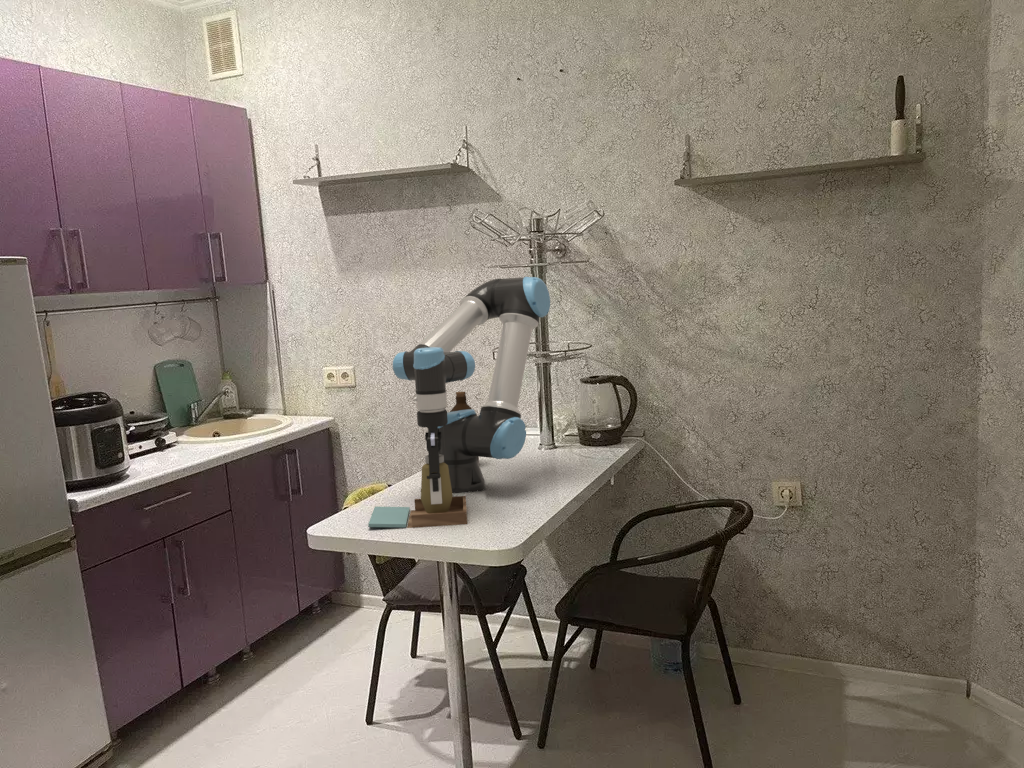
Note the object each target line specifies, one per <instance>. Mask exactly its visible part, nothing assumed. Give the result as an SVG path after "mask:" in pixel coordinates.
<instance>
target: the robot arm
mask: <svg viewBox="0 0 1024 768" xmlns="http://www.w3.org/2000/svg"><path fill="white" fill-rule="evenodd" d="M550 309H551V296H550V292H549V289H548V286H547V285H546V283H545V282H544V281H543V279H541V278H539V277H537V276H523V277H511V278H510V277H509V278H494V279H491V280H490V279H489V280H488V281H486V282H484V283H481V284H480V285H478V286H477V287H476V288H474V289H473V290H471V291H470V292H469V293H468V294H466V295H465V296H464V297H463V298H462V299H461V300H460V302H459V305H458V307H457V308H456V309H455V310H454V311H453V312H451V314H450V315H448V317H446V318H445V319H444V320H443V321H441V323H440V324H439V325H437V327H435V328H434V330H432V331H431V332H430V333H429V334H428V335H427V336H426V337H425V338H424V339H423V340H421V341H420V342H419V343H418V344H417V345H416V346H415V347H413V349H411V351H408V350H407V351H400V352H397V354H396V355H394V358H393V360H392V372H393V373H394V375H395V376H396V377H397V379H399V380H405V381H406V380H407V381H410V382H411V381H414V382H415V397H413V401H414V402H415V403H416V410H417V412H416V418H417V419H416V421H417V426H418V427H419V428H427V432H425V435H424V436H425V437H424V438H425V443H426V452H428V454H427V455H429V476H427V479H430V493H431V504H442V491H441V476H440V466H439V454H442V455H444V463H446V464H447V465H448V469H449V475H450V482H451V488H452V494H462V493H463V494H464V493H477V492H479V493H480V492H482V491H484V490H486V480H485V478H484V475H483V473H482V470H481V467H480V463H479V464H478V457H479V458H489V459H496V460H503V459H505V460H509V459H512V458H515V457H516V456H517V455H519V453H520V452H521V451H522V449H523V447H524V445H525V442H526V438H527V430H526V428H527V426H526V423H525V421H524V420H523V419H522V413H521V412H520V411H519V409H518V405H519V399H520V395H521V391H522V385H523V379H524V374H525V368H526V363H527V359H528V354H529V348H530V347H529V346H530V342H531V337H532V334H533V333H532V331H533V330H535V329H536V328H537V327H538V326H539V323H540V318H544V317H546V316H548V314H549V312H550ZM497 318H498V319H499V321H500V322H501V323H502V328H501V334H500V339H499V342H498V347H497V348H498V349H497V352H496V353H497V355H496V359H495V365H494V369H493V373H492V377H491V379H492V380H491V383H490V389H489V394H488V398H487V402H486V403H485V404H483V405H482V406H481V407H480V412H479V414H478V415H477V416H476V414H477V412H476V410H475V409H473V408H472V409H467V410H459V411H453V412H450V411H448V410H447V409H446V408H447V407H448V402H447V401H448V397H447V390H446V389H447V388H446V387H447V386H446V384H449V383H452V382H457V381H458V382H460V381H461V382H463V381H465V380H467V379H469V378H471V377H472V376H473V375H474V373H475V370H476V362H475V359H474V357H473V355H472V354H471V353H470V352H469V351H466V350H465V351H464V350H459V351H458V350H455V351H453V350H454V349H455V347H457V346H458V345H459V344H460V343H461V342H462V341H463V340H464V339H465V338H466V337H467V336H468V335H469V334H470V333H471V332H472V331H473V330H474V329H475V328H476V327H477V326H481V325H483V324H485V323H486V322H487V321H489V320H492V319H497ZM432 472H437V473H432Z"/></svg>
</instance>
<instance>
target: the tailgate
mask: <svg viewBox="0 0 1024 768" xmlns="http://www.w3.org/2000/svg"><path fill="white" fill-rule="evenodd" d="M410 511H411V509H410V506H374V508H373V511H372V513H371V516H370V518H369V521H368V525H367V527H368V528H407V525H408V521H409V516H410Z"/></svg>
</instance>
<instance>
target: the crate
mask: <svg viewBox="0 0 1024 768" xmlns="http://www.w3.org/2000/svg"><path fill="white" fill-rule="evenodd" d="M467 511H468V509H467V496H466V495H457V496H454V495H453V497H452V501H451V505H450V508H449V511H448V512H445V513H430V514H429V513H427V512H426V511H425V508H424V506H423V503H422V501H421V498H414V509H410V511H409V515H408V520H407V525H406V528H407V529H412V528H413V529H415V528H430V527H431V528H432V527H445V526H458V525H459V526H461V525H462V526H463V525H468V512H467Z"/></svg>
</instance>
